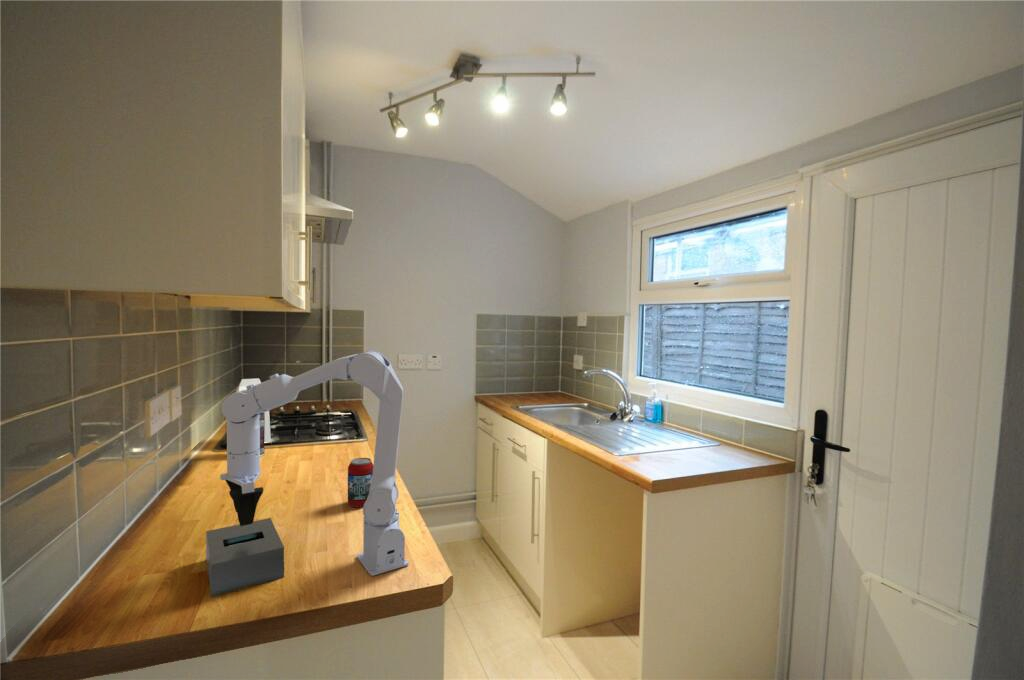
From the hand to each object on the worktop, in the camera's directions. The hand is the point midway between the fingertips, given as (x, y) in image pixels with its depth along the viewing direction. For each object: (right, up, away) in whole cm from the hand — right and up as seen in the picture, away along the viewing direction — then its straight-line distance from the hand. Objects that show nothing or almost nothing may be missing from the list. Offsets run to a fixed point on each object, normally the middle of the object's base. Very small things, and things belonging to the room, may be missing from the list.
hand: (243, 517), depth 94 cm
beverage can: (+12, -9, +34) cm, 38 cm away
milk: (-49, -6, +91) cm, 103 cm away
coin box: (0, -10, 0) cm, 10 cm away
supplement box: (-41, -7, +76) cm, 86 cm away
